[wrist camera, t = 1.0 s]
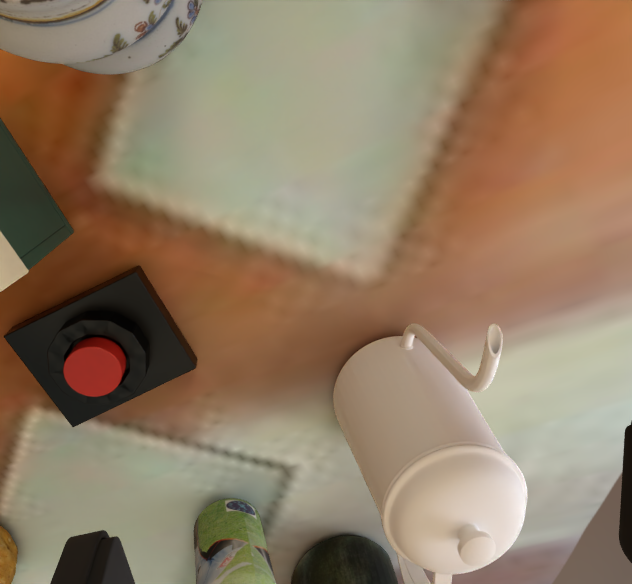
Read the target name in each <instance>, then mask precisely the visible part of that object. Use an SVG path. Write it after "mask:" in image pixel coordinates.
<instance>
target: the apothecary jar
mask: <svg viewBox="0 0 632 584" xmlns="http://www.w3.org/2000/svg"><path fill="white" fill-rule="evenodd" d="M201 4H202V0H0V49H2V50H4V51H7V52H9V53H12V54H15V55H18V56H21V57H24V58H28V59H32V60H36V61H41V62H48V63H61V64H64V65H66V66H69V67H71V68H74V69H77V70H81V71H85V72H89V73H96V74H122V73H129V72H133V71H137V70H140V69H143V68H145V67H148V66H150V65H152V64H154V63H156V62H158V61H160V60H161V59H163V58H164V57H166V56H167V55H168V54H169V53H171V52H172V51H173V50H174V49H175V48H176V47H177V46H178V45H179V44H180V43H181V42H182V41H183V39H184V38H185V37H186V35H187V34H188V32H189V30H190V29H191V27H192V25H193V23H194V21H195V19H196V17H197V15H198V13H199V10H200V7H201Z"/></svg>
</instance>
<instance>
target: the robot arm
mask: <svg viewBox="0 0 632 584" xmlns="http://www.w3.org/2000/svg"><path fill="white" fill-rule="evenodd" d="M619 528H620V529H619V540H620V545H621V547H622V550H623V552H624V554H625V555H626V556H627V558H628V559H629V561H630V562H631V563H632V422H631V425H630V426H627V428H626V430H625V439H624V456H623V474H622V491H621V509H620V526H619ZM50 584H135V582H134V579H133V576H132V573H131V570H130V567H129V564H128V561H127V558H126V556H125V553H124V550H123V547H122V544H121V541H120V539H119V538H118V537H111V538H110V537H109V535H108V533H107V532H106V531H104V530H102V531H97V532H92V533H88V534H83V535H78V536H74V537H70V538H69V539H68V540H67V542H66V544H65V547H64V549H63V552H62V554H61V557H60V560H59V562H58V565H57V568H56V570H55V573H54V575H53V578H52V581H51V583H50Z"/></svg>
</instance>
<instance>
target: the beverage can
mask: <svg viewBox="0 0 632 584" xmlns="http://www.w3.org/2000/svg"><path fill="white" fill-rule="evenodd" d="M194 549H195V567H196V584H276V582H275V578H274V574H273V570H272V566H271V562H270V557H269V553H268V549H267V545H266V541H265V537H264V533H263V529H262V524H261V520H260V516H259V514H258V512H257V510H256V509H255V508H254V507H253V506H252V505H251V504H250V503H248V502H246V501H244V500H241V499H235V498H229V499H223V500H219V501H217V502H214V503H212V504H211V505H209V506H208V507H206V508H205V509H204V510H203V511H202V512H201V514H200V515H199V516H198V518H197V520H196V522H195V525H194Z"/></svg>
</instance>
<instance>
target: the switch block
mask: <svg viewBox="0 0 632 584" xmlns="http://www.w3.org/2000/svg"><path fill="white" fill-rule="evenodd" d="M91 337H102V338H106V339H109V340H111V341H113V342H115V343H116V344H117V345H118V346H119V347H120V348H121V349H122V350H123V352H124V354H125V357H126V369H125V372H124V374H123V377H122V379H121V381H120V383H119V385H118V386H117V387H116V388H115V389H114V390H113V391H112V392H110V393H108V394H106V395H103V396H97V397H92V396H86V395H83V394H80V393H78V392H76V391H75V390H74V389H72V388H71V387H70V386H69V384H68V383H67V381H66V379H65V377H64V372H63V367H64V363H65V361H66V359H67V357H68V356H69V354H70V353H71V351H72V349H73V348H74V347H75V346H76V345H77V344H78V343H79V342H80V341H82V340H84V339H87V338H91ZM4 338H5V339H6V340H7V342H8V343H9V344H10V346H11V347H12V348H13V349H14V351H15V352H16V353H17V355H18V356H19V357H20V359H21V360H22V361H23V363H24V364H25V365H26V366H27V368H28V369H29V370H30V372H31V373H32V374H33V376H34V377H35V378H36V380H37V381H38V382H39V383H40V385H41V386H42V387H43V389H44V390H45V391H46V393H47V394H48V395H49V397H50V398H51V399H52V401H53V402H54V403H55V404H56V406H57V407H58V408H59V410H60V411H61V412H62V414H63V415H64V416H65V418H66V419H67V420H68V421H69V423H70V424H71V425H72V427H75V426H77V425H79V424H81V423H83V422H85V421H87V420H89V419H91V418H93V417H95V416H97V415H99V414H102V413H104V412H106V411H108V410H110V409H112V408H114V407H116V406H118V405H120V404H122V403H124V402H126V401H129V400H131V399H133V398H135V397H137V396H139V395H141V394H143V393H145V392H147V391H149V390H151V389H153V388H156V387H158V386H160V385H162V384H164V383H166V382H168V381H170V380H172V379H174V378H176V377H178V376H180V375H183V374H185V373H187V372H189V371H191V370H193V369H195V368H196V364H197V357H196V356H195V354H194V353H193V351H192V349H191V348H190V346H189V344H188V343H187V341H186V340H185V338H184V336H183V335H182V333H181V332H180V330H179V328H178V327H177V325H176V323H175V322H174V320H173V319H172V317H171V315H170V314H169V312H168V311H167V309H166V307H165V306H164V304H163V303H162V301H161V299H160V298H159V296H158V294H157V293H156V291H155V290H154V288H153V286H152V285H151V283H150V282H149V280H148V278H147V277H146V275H145V273H144V272H143V270H142V269H141V267H140V266H137V267H135V268H133V269H131V270H129V271H127V272H125V273H123V274H121V275H119V276H117V277H114V278H112V279H110V280H108V281H106V282H104V283H102V284H100V285H98V286H96V287H94V288H92V289H90V290H88V291H86V292H84V293H82V294H80V295H78V296H76V297H74V298H72V299H69V300H67V301H65V302H63V303H61V304H59V305H57V306H55V307H53V308H51V309H49V310H47V311H45V312H43V313H41V314H39V315H37V316H35V317H33V318H31V319H29V320H27V321H24V322H22V323H20V324H18V325H16V326H14V327H12V328H11V329H10V330H9V331H8V332H7V333H6V334H5V336H4Z"/></svg>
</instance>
